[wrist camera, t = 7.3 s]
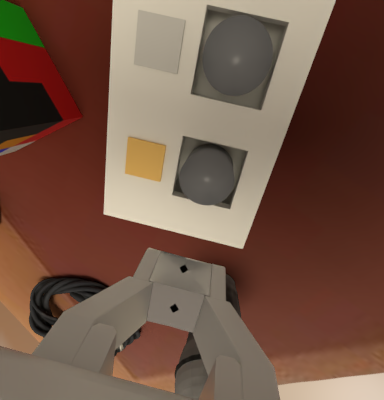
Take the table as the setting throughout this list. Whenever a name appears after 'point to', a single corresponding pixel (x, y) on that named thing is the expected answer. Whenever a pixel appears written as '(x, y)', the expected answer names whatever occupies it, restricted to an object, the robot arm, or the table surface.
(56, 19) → the table surface
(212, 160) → the button
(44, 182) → the table surface
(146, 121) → the button panel
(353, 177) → the table surface
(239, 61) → the button middle
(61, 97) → the puzzle toy
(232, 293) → the beverage cup
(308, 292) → the table surface
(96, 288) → the cable
